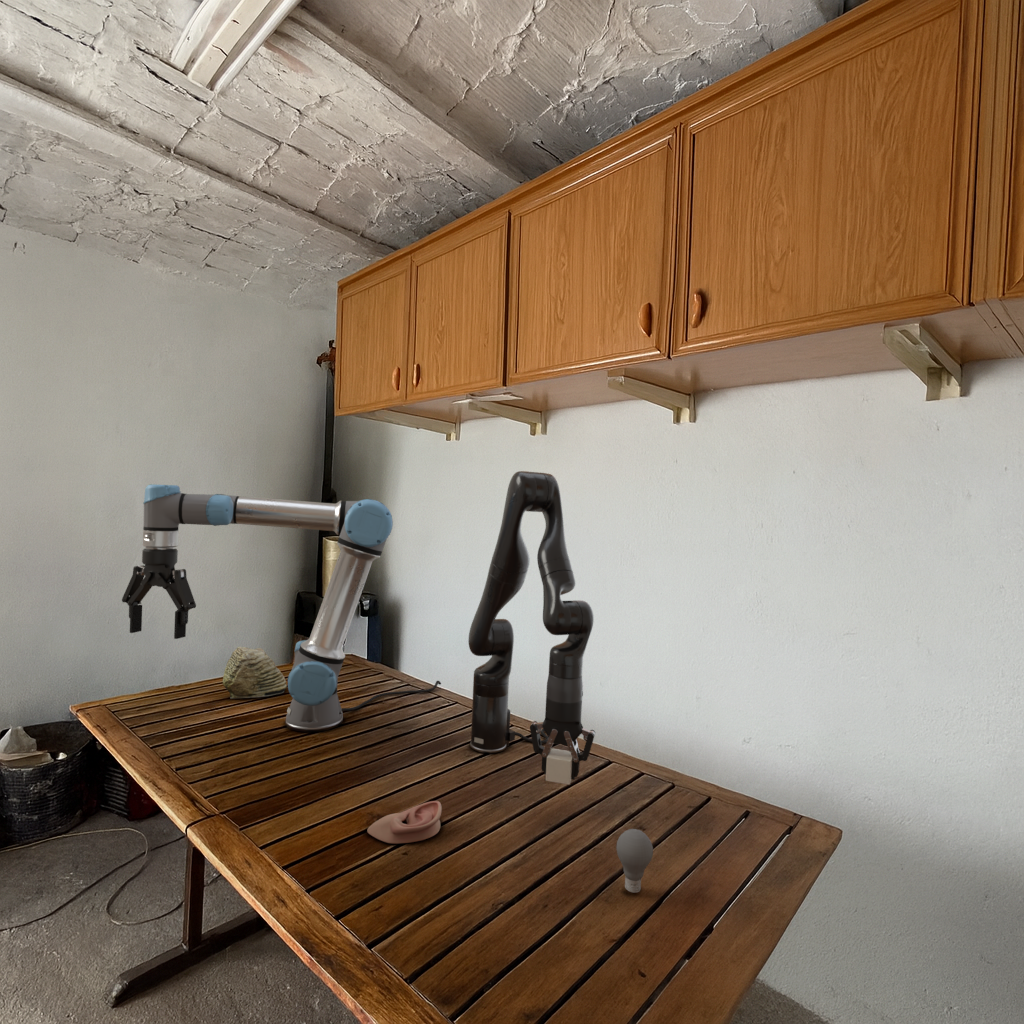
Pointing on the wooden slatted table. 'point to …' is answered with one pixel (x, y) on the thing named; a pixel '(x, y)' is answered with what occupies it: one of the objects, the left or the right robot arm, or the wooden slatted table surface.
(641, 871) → the light bulb
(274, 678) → the fossil
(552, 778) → the block
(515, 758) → the wooden slatted table surface
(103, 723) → the wooden slatted table surface
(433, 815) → the anatomical model
